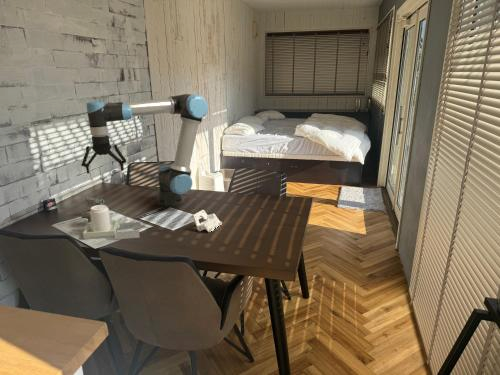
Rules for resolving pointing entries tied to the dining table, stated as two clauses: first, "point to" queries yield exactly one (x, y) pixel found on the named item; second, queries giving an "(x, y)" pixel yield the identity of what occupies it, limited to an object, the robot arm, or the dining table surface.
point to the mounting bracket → (210, 221)
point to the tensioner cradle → (132, 233)
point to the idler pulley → (86, 215)
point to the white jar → (100, 218)
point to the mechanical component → (94, 201)
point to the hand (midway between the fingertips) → (106, 178)
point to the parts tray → (102, 234)
